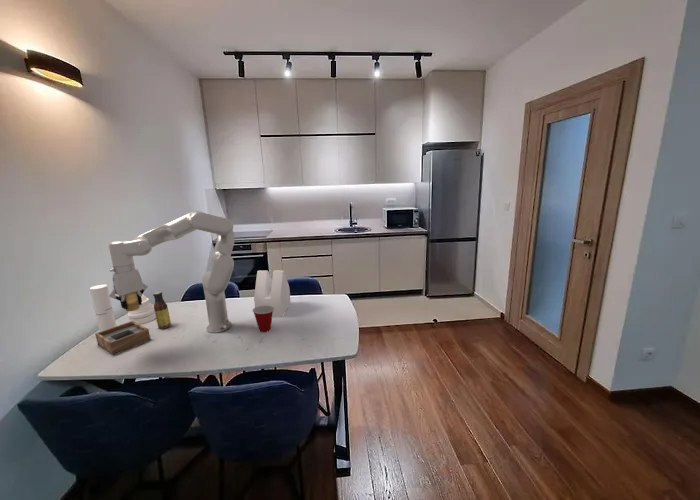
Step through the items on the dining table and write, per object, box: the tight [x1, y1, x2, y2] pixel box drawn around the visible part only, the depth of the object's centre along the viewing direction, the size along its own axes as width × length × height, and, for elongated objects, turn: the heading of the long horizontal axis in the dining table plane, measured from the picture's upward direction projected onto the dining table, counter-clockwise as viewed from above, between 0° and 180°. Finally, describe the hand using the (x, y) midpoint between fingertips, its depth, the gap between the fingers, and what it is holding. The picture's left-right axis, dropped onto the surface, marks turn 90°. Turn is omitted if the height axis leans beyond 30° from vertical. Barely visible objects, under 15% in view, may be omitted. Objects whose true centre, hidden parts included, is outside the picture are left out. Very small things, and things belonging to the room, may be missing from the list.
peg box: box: [95, 321, 151, 356], centre depth 148 cm, size 18×16×6 cm
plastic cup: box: [252, 306, 274, 333], centre depth 156 cm, size 11×11×12 cm
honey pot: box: [127, 293, 156, 325], centre depth 172 cm, size 13×13×18 cm
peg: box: [125, 292, 140, 312], centre depth 136 cm, size 5×5×8 cm
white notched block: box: [253, 269, 292, 318], centre depth 179 cm, size 19×15×25 cm
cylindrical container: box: [89, 284, 117, 332], centre depth 160 cm, size 7×7×25 cm
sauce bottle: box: [152, 291, 172, 330], centre depth 162 cm, size 6×6×20 cm
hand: (132, 306), depth 137 cm, fingers closed on peg, 5 cm apart
